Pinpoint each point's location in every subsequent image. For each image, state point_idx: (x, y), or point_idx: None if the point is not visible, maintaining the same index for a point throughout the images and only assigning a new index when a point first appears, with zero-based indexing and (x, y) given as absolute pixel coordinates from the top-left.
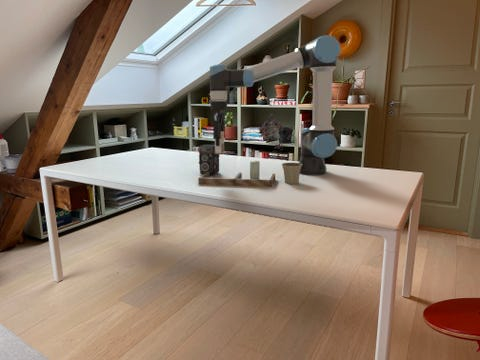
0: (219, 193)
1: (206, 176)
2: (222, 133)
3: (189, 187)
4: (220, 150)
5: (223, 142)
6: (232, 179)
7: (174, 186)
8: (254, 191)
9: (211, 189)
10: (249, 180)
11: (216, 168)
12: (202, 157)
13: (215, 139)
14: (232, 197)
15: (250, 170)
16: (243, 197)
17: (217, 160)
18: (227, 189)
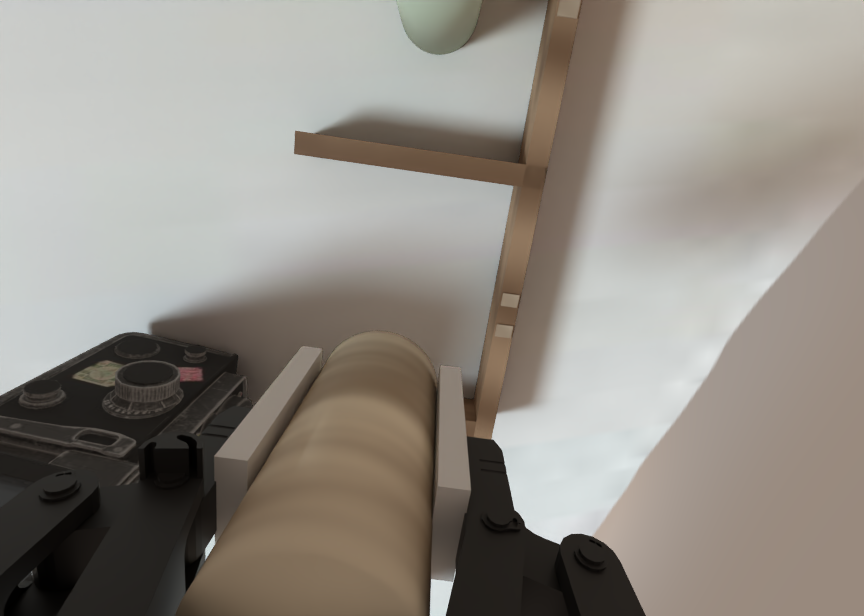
0: (725, 263)
1: None
2: (387, 547)
3: (559, 453)
4: (461, 389)
5: (385, 407)
6: (541, 195)
7: (530, 529)
8: (716, 4)
9: (619, 324)
10: (573, 41)
11: (166, 357)
12: None
13: (453, 564)
14: (840, 167)
15: (461, 15)
16: (860, 87)
17: (153, 377)
18: (631, 220)
